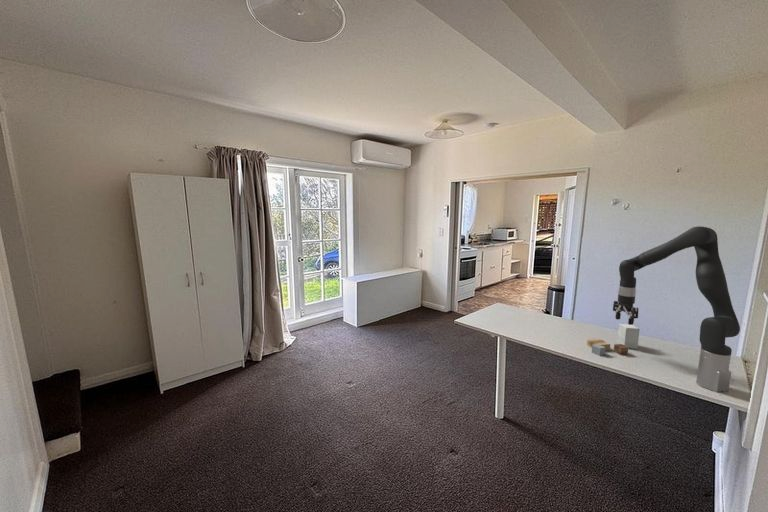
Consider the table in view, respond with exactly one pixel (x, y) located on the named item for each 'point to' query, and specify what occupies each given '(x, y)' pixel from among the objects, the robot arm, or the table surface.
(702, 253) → the robot arm
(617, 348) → the walnut cube
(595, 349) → the grey painted cube
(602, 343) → the oak base block
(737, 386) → the table surface
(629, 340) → the supplement box
